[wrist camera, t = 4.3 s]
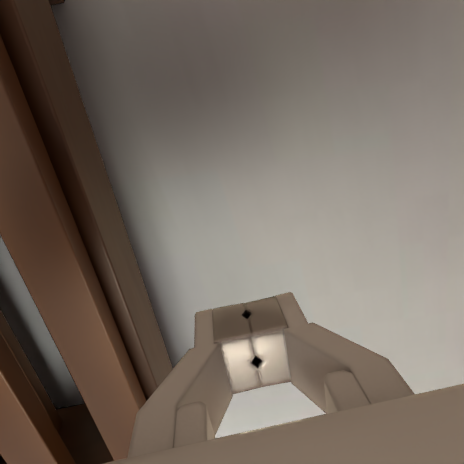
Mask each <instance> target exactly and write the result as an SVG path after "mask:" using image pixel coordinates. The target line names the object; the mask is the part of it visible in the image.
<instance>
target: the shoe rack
mask: <svg viewBox="0 0 464 464" xmlns="http://www.w3.org/2000/svg"><path fill="white" fill-rule="evenodd" d="M64 2H65V0H0V235H1V237H2V239H3V241H4V243H5V245H6V247H7V249H8V251H9V253H10V255H11V257H12V259H13V260H14V262H15V264H16V266H17V268H18V270H19V272H20V274H21V276H22V278H23V280H24V282H25V284H26V286H27V288H28V290H29V292H30V294H31V296H32V298H33V300H34V302H35V304H36V306H37V308H38V310H39V312H40V314H41V316H42V318H43V320H44V322H45V324H46V326H47V328H48V330H49V332H50V334H51V336H52V338H53V340H54V342H55V344H56V346H57V348H58V350H59V352H60V354H61V356H62V358H63V360H64V362H65V364H66V366H67V368H68V370H69V372H70V374H71V376H72V378H73V380H74V382H75V384H76V386H77V388H78V390H79V392H80V394H81V396H82V398H83V400H84V402H85V404H81V405H76V406H72V407H67V408H62V409H57V410H56V408H55V407H54V405H53V403H52V401H51V399H50V398H49V396H48V394H47V392H46V391H45V389H44V387H43V385H42V383H41V382H40V380H39V378H38V376H37V374H36V373H35V371H34V369H33V367H32V365H31V364H30V362H29V360H28V358H27V356H26V355H25V353H24V351H23V349H22V347H21V346H20V344H19V342H18V340H17V338H16V337H15V335H14V333H13V331H12V329H11V328H10V326H9V324H8V322H7V321H6V319H5V317H4V315H3V313H2V312H1V310H0V464H103V463H107V462H112V461H116V460H121V459H125V458H127V457H128V452H129V447H130V443H131V438H132V433H133V428H134V424H135V419H136V414H137V412H138V411H139V410H140V409H141V407H142V406H143V405H144V404H145V403H146V401H147V400H148V399H149V398H150V396H151V395H152V394H153V393H154V392H155V390H156V389H157V388H158V387H159V386H160V384H161V383H162V382H163V381H164V379H165V378H166V377H167V376H168V375H169V373H170V372H171V371H172V370H173V368H172V365H171V362H170V359H169V356H168V353H167V350H166V347H165V344H164V341H163V338H162V335H161V333H160V330H159V327H158V324H157V321H156V318H155V315H154V312H153V309H152V306H151V303H150V300H149V297H148V294H147V291H146V288H145V285H144V282H143V279H142V276H141V273H140V270H139V267H138V264H137V261H136V258H135V255H134V252H133V249H132V246H131V243H130V241H129V238H128V235H127V232H126V229H125V226H124V223H123V220H122V217H121V214H120V211H119V208H118V205H117V202H116V199H115V196H114V193H113V190H112V187H111V184H110V181H109V178H108V175H107V172H106V169H105V166H104V163H103V160H102V157H101V154H100V151H99V149H98V146H97V143H96V140H95V137H94V134H93V131H92V128H91V125H90V122H89V119H88V116H87V113H86V110H85V107H84V104H83V101H82V98H81V95H80V92H79V89H78V86H77V83H76V80H75V77H74V74H73V71H72V68H71V65H70V62H69V59H68V57H67V54H66V51H65V48H64V45H63V42H62V39H61V36H60V33H59V30H58V27H57V24H56V21H55V18H54V15H53V12H52V9H51V6H50V5H54V4H59V3H64Z"/></svg>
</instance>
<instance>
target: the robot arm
mask: <svg viewBox="0 0 464 464" xmlns="http://www.w3.org/2000/svg"><path fill="white" fill-rule="evenodd" d="M286 382H291V383H292V384H293V385H294V386H296V387H297V388H298V389H299V390H300V391H301V392H302V393H304V394H305V395H306V396H307V397H308V398H309V399H310V400H311V401H313V402H314V403H315V404H316V405H317V406H318V407H319V408H321V409H322V410H323V411H324V412H325V413H326V414H324V415H319V416H315V417H310V418H306V419H301V420H297V421H292V422H288V423H283V424H279V425H274V426H270V427H265V428H261V429H256V430H252V431H247V432H243V433H238V434H234V435H229V436H225V437H220V438H216V439H215V435H216V432H217V430H218V428H219V426H220V423H221V421H222V419H223V417H224V414H225V412H226V410H227V408H228V405H229V403H230V401H231V399H232V396H233V395H232V394H236V393H240V392H244V391H248V390H252V389H256V388H260V387H261V386H262V387H265V386H270V385H275V384H281V383H286ZM103 464H464V384H460V385H456V386H451V387H447V388H443V389H438V390H433V391H429V392H424V393H420V394H414V393H413V391H412V390H411V389H410V387H409V386H408V385H407V383H406V382H405V381H404V379H403V378H402V377H401V375H400V374H399V373H398V371H397V370H396V369H395V367H394V366H393V365H392V363H391V362H390V361H389V359H387V358H385V357H383V356H381V355H379V354H377V353H375V352H372V351H370V350H368V349H366V348H364V347H362V346H360V345H358V344H356V343H354V342H352V341H350V340H348V339H346V338H344V337H342V336H340V335H337V334H335V333H333V332H331V331H329V330H327V329H325V328H323V327H321V326H319V325H317V324H315V323H309V324H308V322H307V320H306V318H305V316H304V314H303V312H302V311H301V309H300V307H299V305H298V303H297V301H296V299H295V297H294V295H293V293H291V292H288V293H284V294H280V295H276V296H273V297H269V298H265V299H260V300H256V301H252V302H247V303H240V304H235V305H230V306H224V307H219V308H214V309H208V310H204V311H199V312H196V314H195V337H194V348H192V349H189V350H188V351H187V353H186V354H185V355H184V356H183V358H182V359H181V360H180V361H179V362H178V364H177V365H176V366H175V367H174V368H173V370H172V371H171V372H170V373H169V375H168V376H167V377H166V378H165V379H164V381H163V382H162V383H161V384H160V386H159V387H158V388H157V389H156V390H155V392H154V393H153V394H152V395H151V396H150V398H149V399H148V400H147V401H146V403H145V404H144V405H143V406H142V407H141V409H140V410H139V411H138V412H137V414H136V419H135V424H134V428H133V433H132V438H131V443H130V447H129V452H128V457H127V458H125V459H121V460H116V461H112V462H107V463H103Z"/></svg>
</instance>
